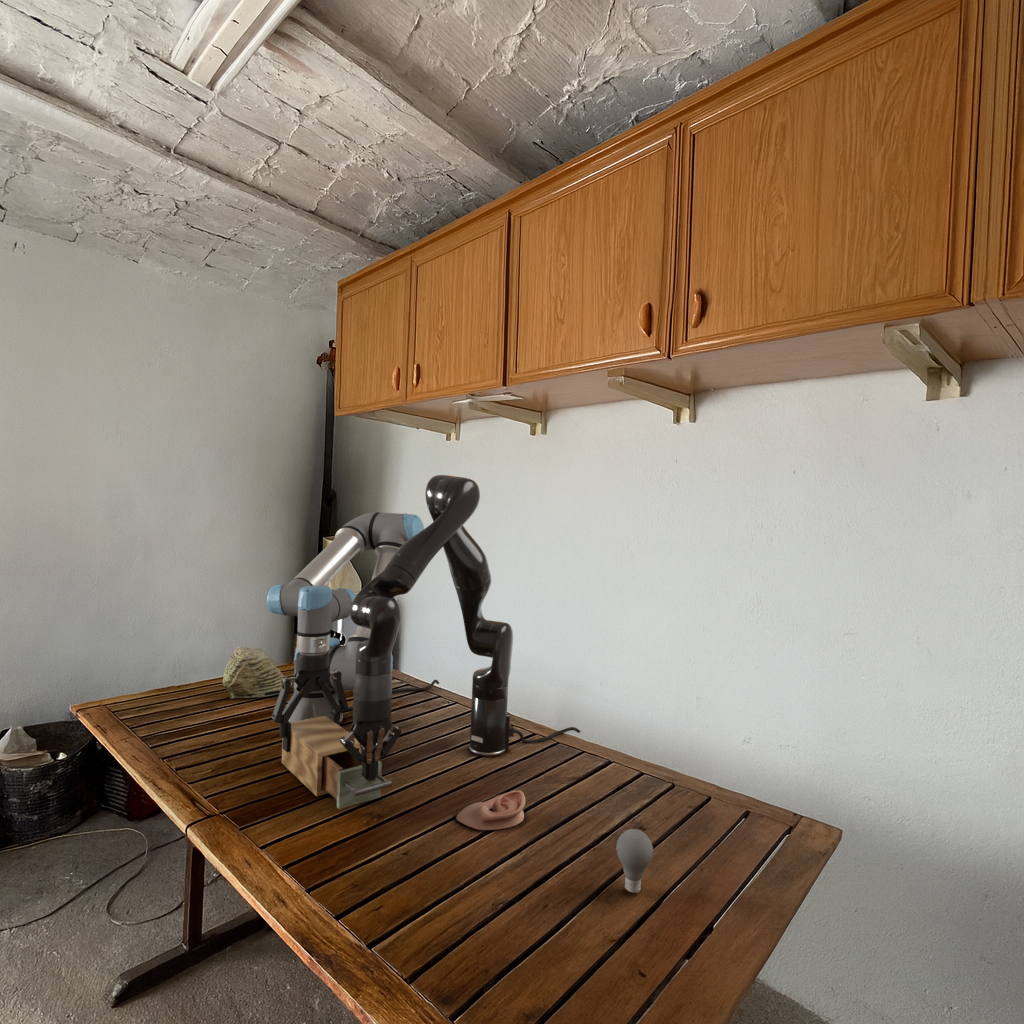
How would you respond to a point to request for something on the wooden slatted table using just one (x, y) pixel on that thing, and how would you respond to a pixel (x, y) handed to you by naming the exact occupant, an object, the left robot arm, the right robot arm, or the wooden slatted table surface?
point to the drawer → (350, 780)
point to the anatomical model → (495, 812)
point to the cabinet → (313, 749)
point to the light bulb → (634, 857)
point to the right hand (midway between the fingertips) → (369, 779)
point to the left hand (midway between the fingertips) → (309, 744)
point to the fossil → (251, 674)
